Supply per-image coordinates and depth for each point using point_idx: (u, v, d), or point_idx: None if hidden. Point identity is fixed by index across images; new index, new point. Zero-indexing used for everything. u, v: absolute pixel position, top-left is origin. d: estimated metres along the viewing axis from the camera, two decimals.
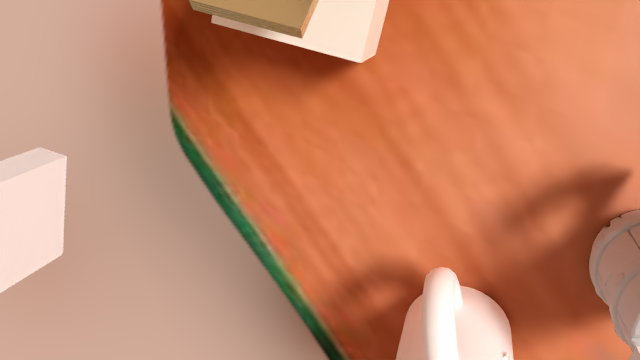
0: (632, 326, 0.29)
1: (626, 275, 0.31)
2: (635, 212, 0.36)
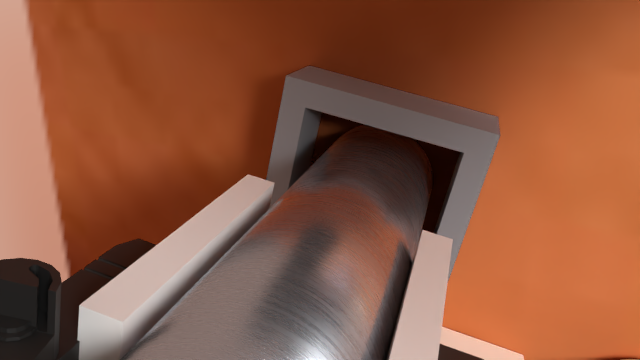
0: None
1: None
2: None
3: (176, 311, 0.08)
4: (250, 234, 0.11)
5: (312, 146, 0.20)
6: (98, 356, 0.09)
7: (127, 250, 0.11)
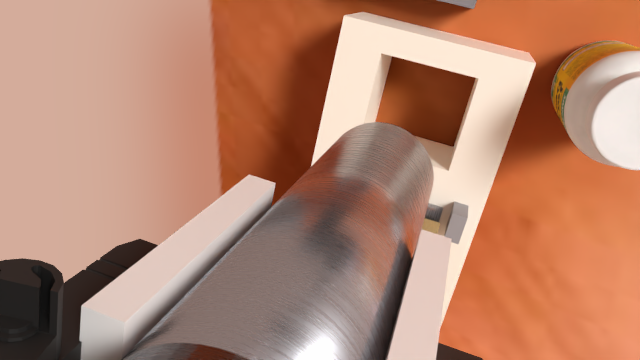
0: None
1: None
2: None
3: (190, 298, 0.09)
4: (258, 227, 0.12)
5: None
6: (100, 356, 0.09)
7: (129, 251, 0.11)
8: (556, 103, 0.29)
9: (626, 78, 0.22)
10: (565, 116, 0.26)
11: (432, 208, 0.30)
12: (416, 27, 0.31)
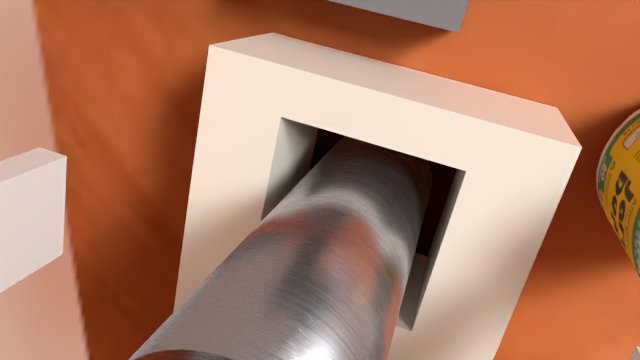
0: None
1: None
2: None
3: (190, 304, 0.09)
4: (257, 232, 0.12)
5: None
6: None
7: None
8: (613, 211, 0.15)
9: None
10: None
11: None
12: (357, 63, 0.17)
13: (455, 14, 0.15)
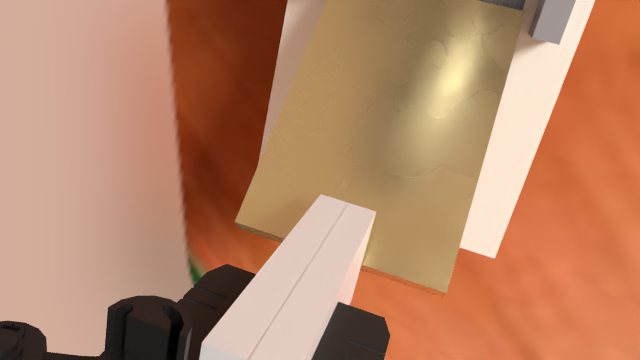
0: None
1: None
2: None
3: None
4: None
5: None
6: None
7: (219, 278, 0.11)
8: None
9: None
10: None
11: None
12: None
13: None
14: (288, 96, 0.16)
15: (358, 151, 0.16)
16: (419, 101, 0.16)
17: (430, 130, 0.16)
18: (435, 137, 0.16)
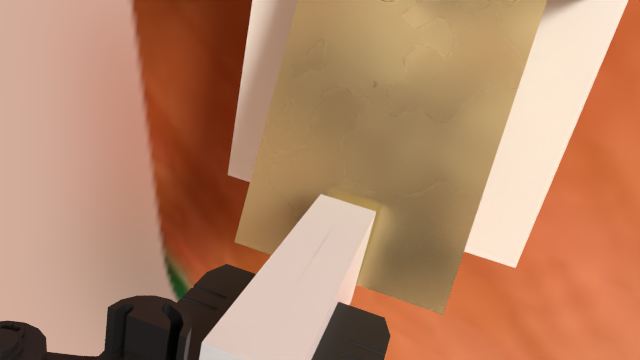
0: None
1: None
2: None
3: None
4: None
5: None
6: None
7: (220, 278, 0.11)
8: None
9: None
10: None
11: None
12: None
13: None
14: (273, 100, 0.15)
15: (352, 165, 0.14)
16: (419, 102, 0.14)
17: (430, 138, 0.14)
18: (436, 147, 0.14)
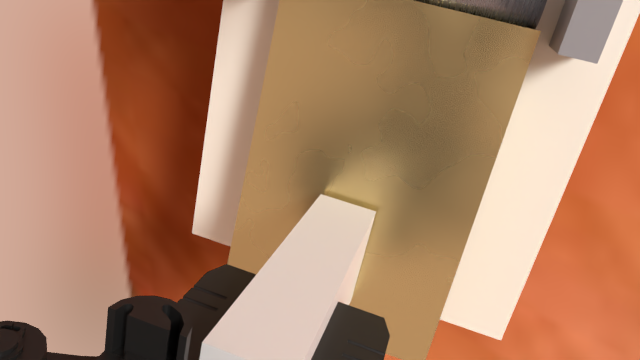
0: None
1: None
2: None
3: None
4: None
5: None
6: None
7: (220, 277, 0.11)
8: None
9: None
10: None
11: None
12: None
13: None
14: (249, 161, 0.15)
15: None
16: (395, 168, 0.14)
17: (408, 204, 0.14)
18: (413, 212, 0.14)
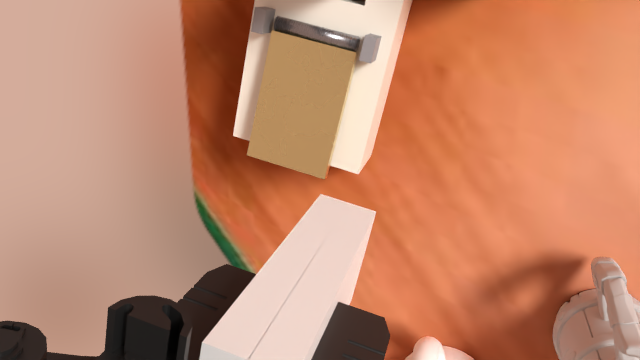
0: None
1: (577, 354, 0.38)
2: (590, 292, 0.42)
3: None
4: None
5: None
6: None
7: (219, 277, 0.11)
8: None
9: None
10: None
11: (349, 40, 0.36)
12: None
13: None
14: (258, 100, 0.38)
15: (289, 124, 0.38)
16: (311, 101, 0.37)
17: (316, 114, 0.38)
18: (318, 117, 0.38)
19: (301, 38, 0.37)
